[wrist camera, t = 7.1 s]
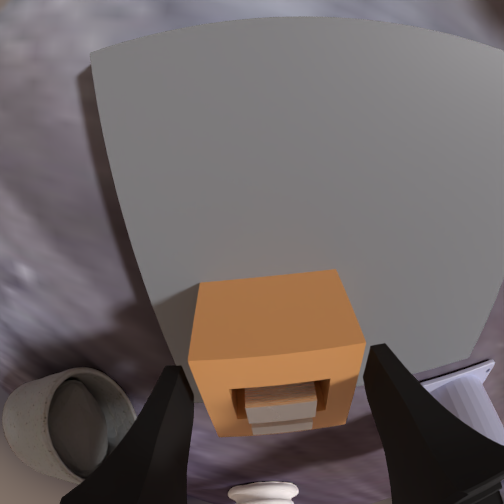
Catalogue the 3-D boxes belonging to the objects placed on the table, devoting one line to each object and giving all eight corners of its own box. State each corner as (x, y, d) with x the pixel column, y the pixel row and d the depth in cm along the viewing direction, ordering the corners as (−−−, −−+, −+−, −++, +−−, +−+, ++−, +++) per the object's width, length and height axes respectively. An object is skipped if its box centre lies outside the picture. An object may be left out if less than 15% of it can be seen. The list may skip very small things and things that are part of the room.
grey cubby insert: (299, 332, 14) (315, 416, 10) (246, 337, 14) (249, 423, 10) (299, 312, 13) (317, 400, 10) (243, 318, 14) (245, 408, 10)
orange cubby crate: (336, 268, 12) (367, 347, 9) (328, 356, 15) (345, 427, 12) (199, 282, 12) (186, 366, 9) (221, 367, 15) (218, 440, 12)
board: (461, 345, 18) (468, 357, 17) (194, 386, 18) (192, 402, 17) (520, 61, 8) (537, 64, 7) (103, 54, 9) (89, 53, 8)
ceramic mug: (16, 365, 18) (-19, 446, 11) (71, 340, 16) (28, 452, 10) (108, 434, 23) (94, 507, 16) (177, 424, 21) (168, 515, 15)
